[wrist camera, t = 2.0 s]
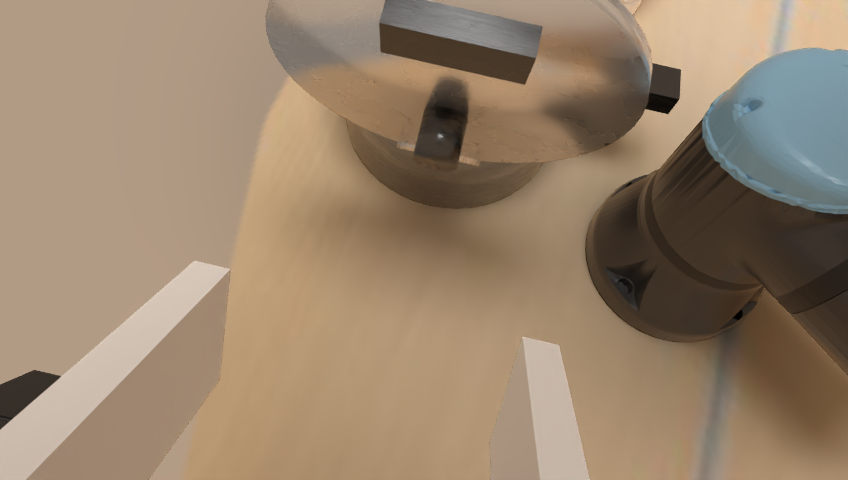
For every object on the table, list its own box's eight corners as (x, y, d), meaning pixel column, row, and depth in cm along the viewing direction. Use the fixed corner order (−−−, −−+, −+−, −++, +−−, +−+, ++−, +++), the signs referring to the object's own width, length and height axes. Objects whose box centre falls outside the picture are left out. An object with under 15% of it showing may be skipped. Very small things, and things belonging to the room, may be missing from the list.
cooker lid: (739, -17, 24) (728, 83, 23) (579, 171, 45) (569, 228, 44) (226, -132, 24) (191, -38, 23) (305, 109, 45) (289, 164, 44)
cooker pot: (634, 74, 63) (690, -16, 52) (618, 248, 55) (681, 185, 44) (374, 16, 63) (375, -87, 52) (321, 180, 55) (309, 100, 44)
